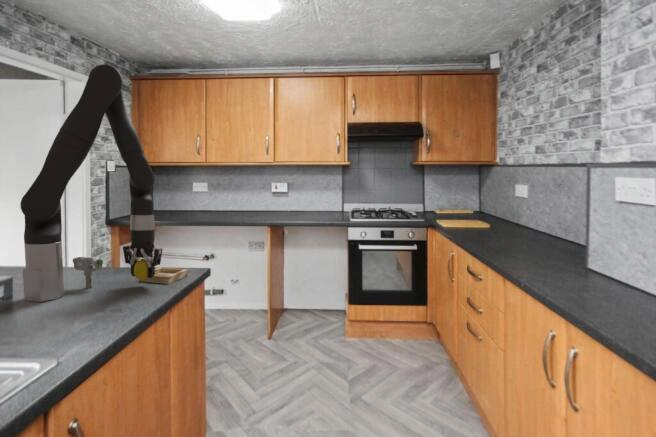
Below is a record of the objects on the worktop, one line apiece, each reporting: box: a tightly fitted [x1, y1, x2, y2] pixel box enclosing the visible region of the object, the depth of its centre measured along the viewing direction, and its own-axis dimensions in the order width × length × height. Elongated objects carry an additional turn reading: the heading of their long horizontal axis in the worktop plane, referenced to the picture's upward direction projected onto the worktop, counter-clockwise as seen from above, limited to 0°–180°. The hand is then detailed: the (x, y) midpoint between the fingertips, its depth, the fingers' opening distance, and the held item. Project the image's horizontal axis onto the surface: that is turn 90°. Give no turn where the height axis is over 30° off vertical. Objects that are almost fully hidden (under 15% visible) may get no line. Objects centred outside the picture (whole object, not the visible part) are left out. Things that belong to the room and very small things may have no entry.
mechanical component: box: [72, 256, 104, 289], centre depth 132 cm, size 3×10×10 cm, turn 79°
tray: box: [138, 266, 189, 285], centre depth 147 cm, size 12×12×2 cm
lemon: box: [134, 258, 148, 283], centre depth 136 cm, size 6×6×8 cm
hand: (142, 276), depth 136 cm, fingers closed on lemon, 5 cm apart
